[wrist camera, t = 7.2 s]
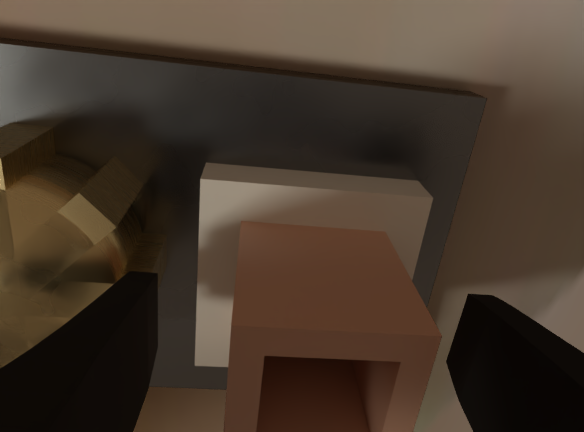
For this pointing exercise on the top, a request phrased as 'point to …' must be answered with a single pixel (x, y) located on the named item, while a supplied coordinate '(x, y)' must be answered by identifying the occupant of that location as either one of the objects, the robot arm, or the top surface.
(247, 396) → the square sleeve on tile
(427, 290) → the carrier plate
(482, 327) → the robot arm
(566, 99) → the top surface
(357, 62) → the top surface
